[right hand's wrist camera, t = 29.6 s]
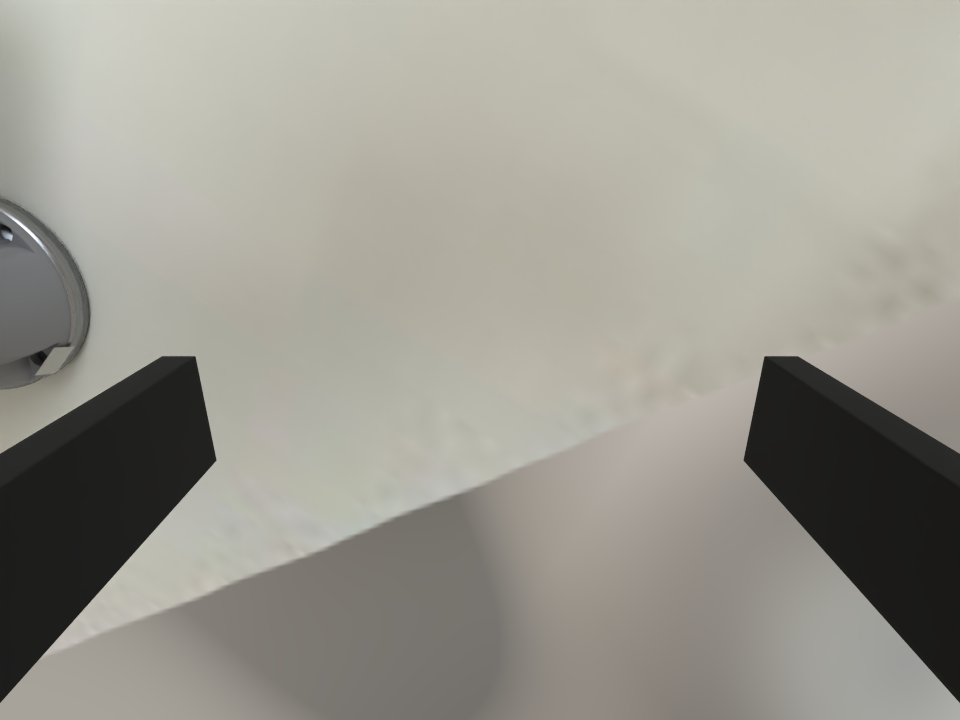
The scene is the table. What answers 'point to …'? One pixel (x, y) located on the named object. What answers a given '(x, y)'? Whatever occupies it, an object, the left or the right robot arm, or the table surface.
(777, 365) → the right robot arm
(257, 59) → the table surface
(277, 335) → the table surface
